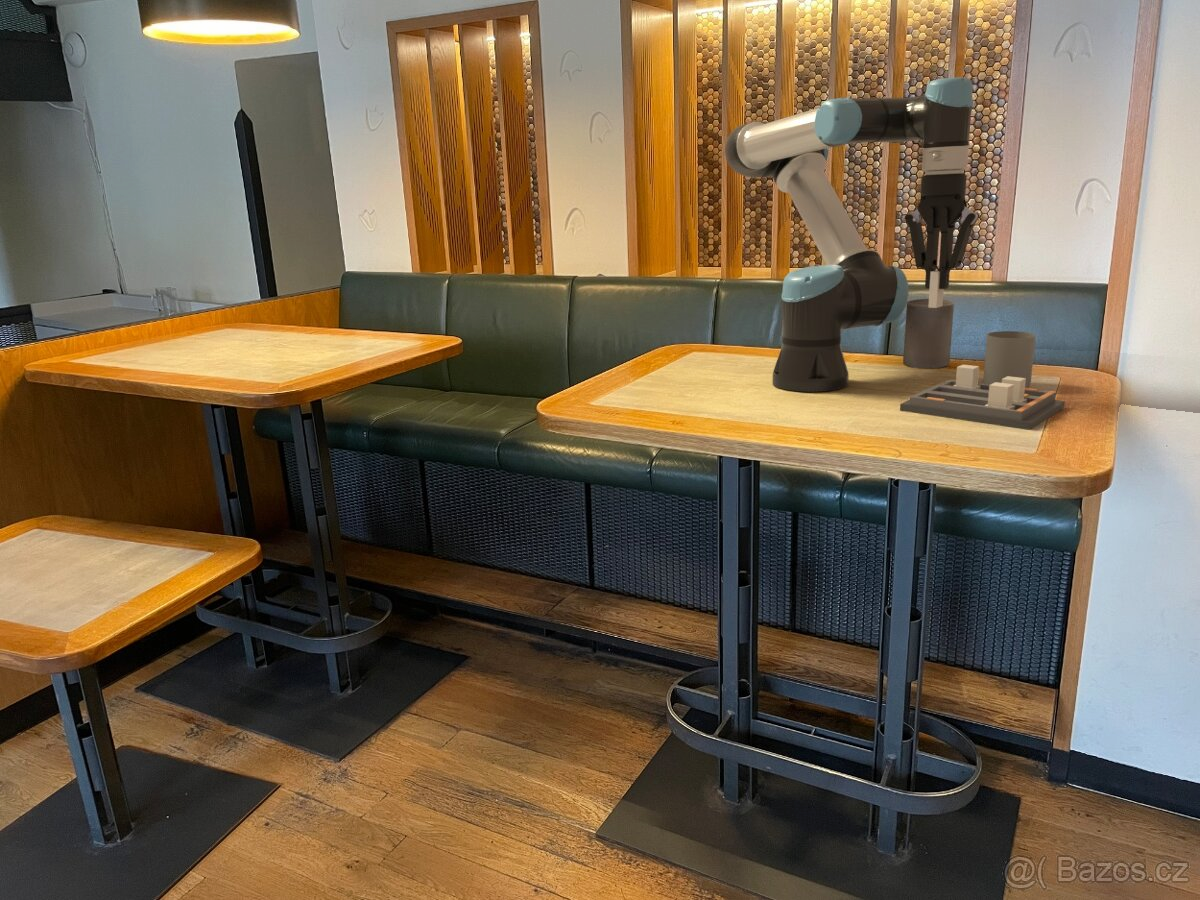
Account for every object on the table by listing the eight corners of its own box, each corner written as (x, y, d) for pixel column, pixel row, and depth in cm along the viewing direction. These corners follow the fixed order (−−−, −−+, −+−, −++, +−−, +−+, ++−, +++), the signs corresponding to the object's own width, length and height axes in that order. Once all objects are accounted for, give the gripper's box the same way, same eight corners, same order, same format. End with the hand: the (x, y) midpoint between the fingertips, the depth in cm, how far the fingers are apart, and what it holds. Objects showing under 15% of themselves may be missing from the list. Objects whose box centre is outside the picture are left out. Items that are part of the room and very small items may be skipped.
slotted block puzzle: (899, 410, 154) (900, 395, 154) (940, 391, 166) (941, 377, 165) (1029, 429, 140) (1031, 412, 139) (1064, 407, 151) (1066, 392, 150)
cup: (1034, 390, 163) (1040, 338, 161) (988, 390, 165) (993, 338, 162) (1023, 380, 171) (1028, 330, 168) (979, 380, 173) (983, 331, 170)
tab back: (952, 392, 160) (954, 366, 158) (958, 389, 162) (960, 364, 160) (974, 395, 157) (976, 369, 156) (980, 392, 159) (982, 366, 158)
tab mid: (996, 405, 149) (998, 378, 148) (1002, 402, 151) (1004, 375, 150) (1020, 409, 147) (1023, 381, 145) (1026, 405, 149) (1029, 378, 147)
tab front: (983, 412, 146) (986, 384, 144) (990, 409, 147) (992, 381, 146) (1008, 416, 143) (1010, 387, 141) (1014, 412, 145) (1017, 384, 143)
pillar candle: (899, 360, 195) (902, 293, 191) (944, 359, 194) (948, 292, 189) (907, 369, 186) (911, 300, 182) (955, 368, 185) (960, 298, 180)
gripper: (899, 175, 154) (892, 307, 161) (972, 171, 146) (962, 311, 153) (918, 174, 160) (910, 302, 166) (989, 170, 151) (979, 306, 158)
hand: (935, 306), depth 159 cm, fingers closed
